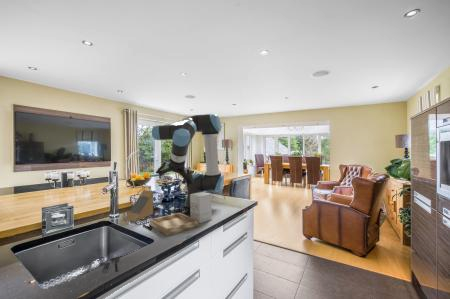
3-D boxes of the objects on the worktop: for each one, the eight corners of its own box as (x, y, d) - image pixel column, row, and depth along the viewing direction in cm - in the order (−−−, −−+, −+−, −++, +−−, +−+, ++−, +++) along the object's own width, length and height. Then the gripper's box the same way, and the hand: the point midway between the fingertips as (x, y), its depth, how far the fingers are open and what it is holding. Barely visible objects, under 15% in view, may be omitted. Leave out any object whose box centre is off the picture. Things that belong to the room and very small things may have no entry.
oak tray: (179, 217, 124) (179, 212, 124) (198, 226, 109) (198, 220, 109) (149, 225, 112) (149, 219, 112) (166, 236, 97) (166, 229, 97)
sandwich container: (123, 220, 122) (122, 194, 122) (143, 212, 136) (143, 189, 136) (133, 222, 118) (133, 195, 119) (153, 214, 132) (153, 190, 132)
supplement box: (202, 216, 126) (202, 191, 126) (212, 219, 120) (211, 193, 120) (190, 220, 120) (189, 193, 120) (199, 223, 113) (199, 196, 113)
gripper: (150, 155, 99) (148, 184, 112) (200, 170, 100) (193, 198, 113) (157, 146, 105) (154, 174, 118) (204, 160, 106) (197, 188, 119)
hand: (173, 186), depth 115 cm, fingers open, 13 cm apart
